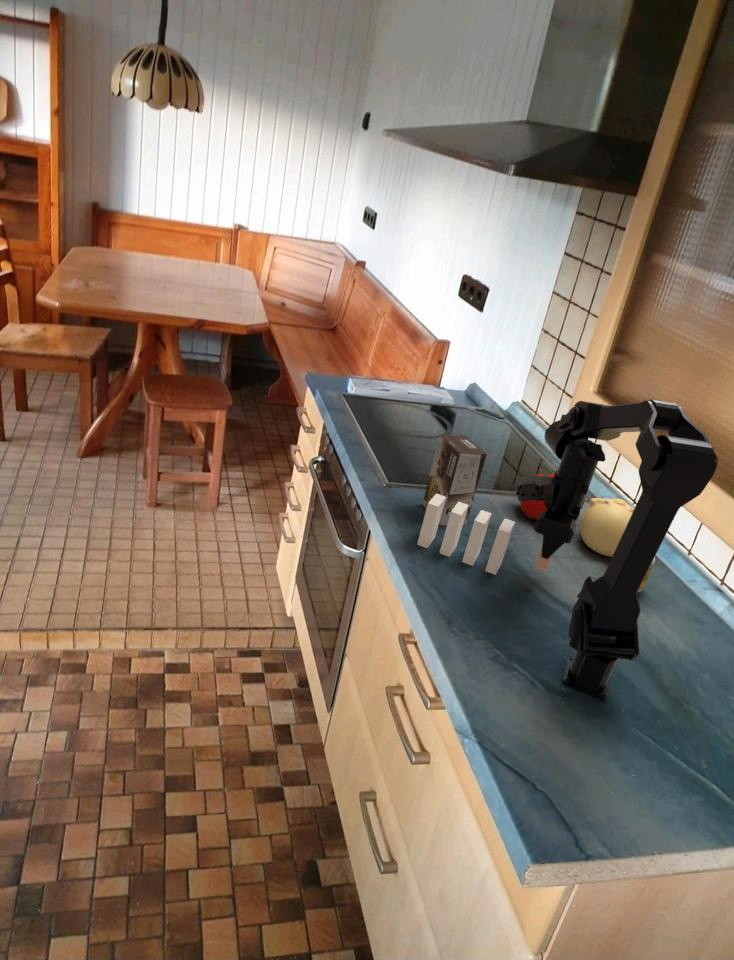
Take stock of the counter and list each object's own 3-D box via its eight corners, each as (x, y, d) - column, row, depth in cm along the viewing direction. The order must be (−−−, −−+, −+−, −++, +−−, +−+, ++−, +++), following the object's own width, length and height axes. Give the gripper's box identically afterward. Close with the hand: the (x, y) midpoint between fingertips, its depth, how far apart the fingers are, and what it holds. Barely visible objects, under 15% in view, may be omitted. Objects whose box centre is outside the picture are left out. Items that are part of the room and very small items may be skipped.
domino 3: (472, 565, 128) (485, 524, 124) (462, 561, 129) (474, 520, 125) (479, 554, 133) (491, 513, 129) (469, 550, 133) (481, 509, 129)
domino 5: (545, 571, 123) (561, 527, 119) (534, 567, 123) (550, 523, 120) (550, 559, 127) (565, 516, 123) (539, 555, 128) (554, 512, 124)
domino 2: (449, 557, 130) (461, 515, 126) (439, 553, 130) (451, 511, 126) (456, 545, 134) (468, 505, 130) (447, 542, 134) (458, 501, 131)
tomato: (560, 536, 146) (574, 499, 142) (507, 514, 150) (519, 477, 146) (573, 519, 155) (586, 483, 151) (522, 498, 159) (534, 463, 155)
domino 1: (426, 548, 131) (438, 506, 127) (417, 544, 131) (428, 503, 128) (435, 537, 135) (446, 496, 131) (425, 533, 136) (436, 493, 132)
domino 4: (495, 575, 127) (509, 532, 123) (485, 570, 128) (498, 529, 124) (501, 562, 131) (515, 522, 127) (491, 559, 132) (504, 518, 128)
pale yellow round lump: (630, 544, 149) (649, 500, 144) (630, 570, 139) (650, 524, 134) (577, 526, 152) (594, 483, 147) (573, 551, 141) (590, 505, 137)
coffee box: (467, 525, 142) (488, 454, 135) (440, 526, 140) (460, 453, 133) (447, 503, 150) (466, 434, 143) (420, 503, 147) (438, 433, 140)
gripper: (538, 442, 128) (514, 516, 134) (517, 476, 112) (491, 557, 118) (598, 462, 125) (571, 536, 131) (586, 499, 109) (555, 582, 115)
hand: (546, 551), depth 124 cm, fingers closed on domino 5, 5 cm apart
